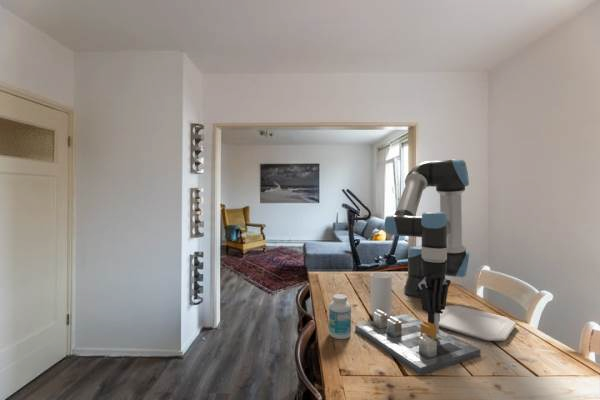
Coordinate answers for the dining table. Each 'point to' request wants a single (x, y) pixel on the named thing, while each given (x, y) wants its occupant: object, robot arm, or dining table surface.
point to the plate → (476, 323)
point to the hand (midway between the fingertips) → (433, 332)
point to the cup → (381, 293)
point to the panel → (415, 343)
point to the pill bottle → (340, 317)
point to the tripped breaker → (428, 329)
